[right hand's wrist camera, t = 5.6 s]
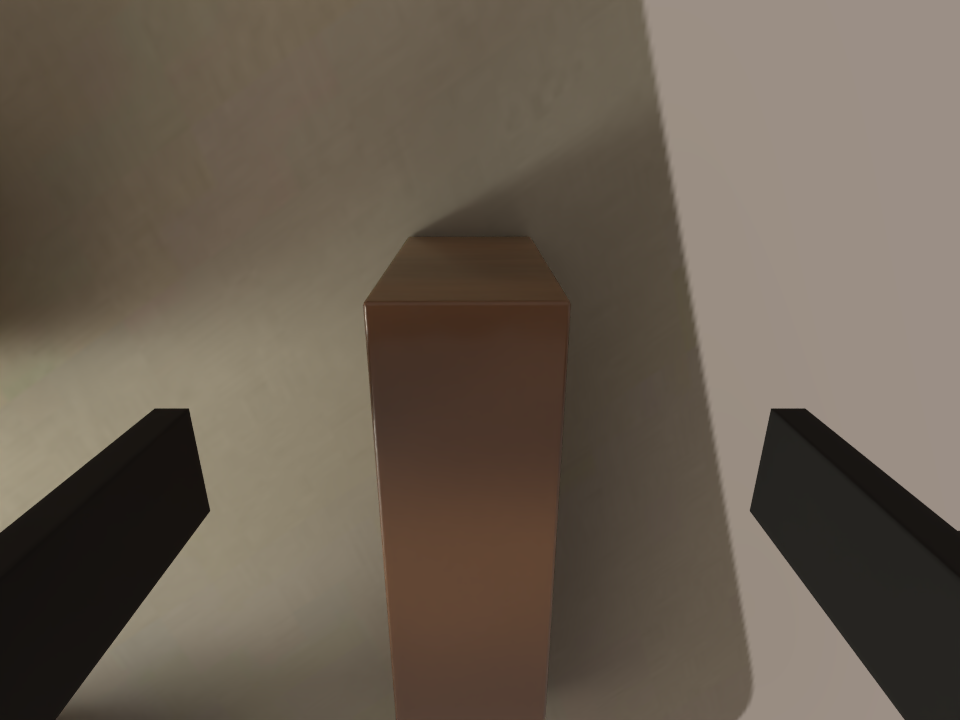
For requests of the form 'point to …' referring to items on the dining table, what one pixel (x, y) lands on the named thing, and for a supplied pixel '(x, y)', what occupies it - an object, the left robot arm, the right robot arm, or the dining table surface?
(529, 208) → the dining table surface
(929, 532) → the right robot arm
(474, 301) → the walnut block
